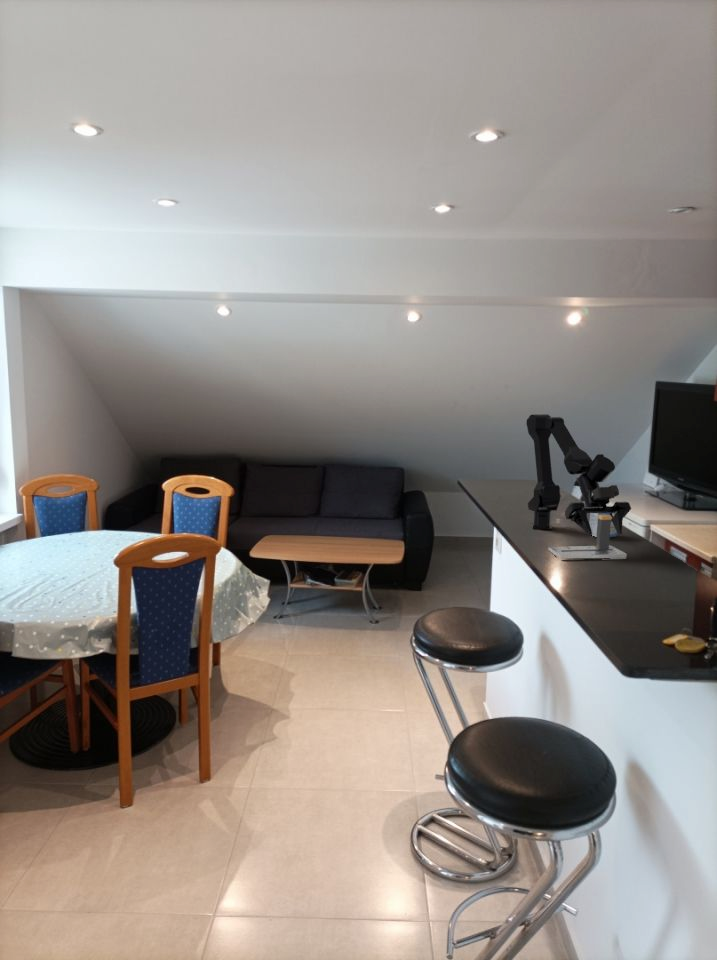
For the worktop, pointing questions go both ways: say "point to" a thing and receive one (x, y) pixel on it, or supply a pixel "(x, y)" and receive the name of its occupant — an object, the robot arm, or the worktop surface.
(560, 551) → the fader console
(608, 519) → the fader lever
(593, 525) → the medicine box
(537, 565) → the worktop surface
